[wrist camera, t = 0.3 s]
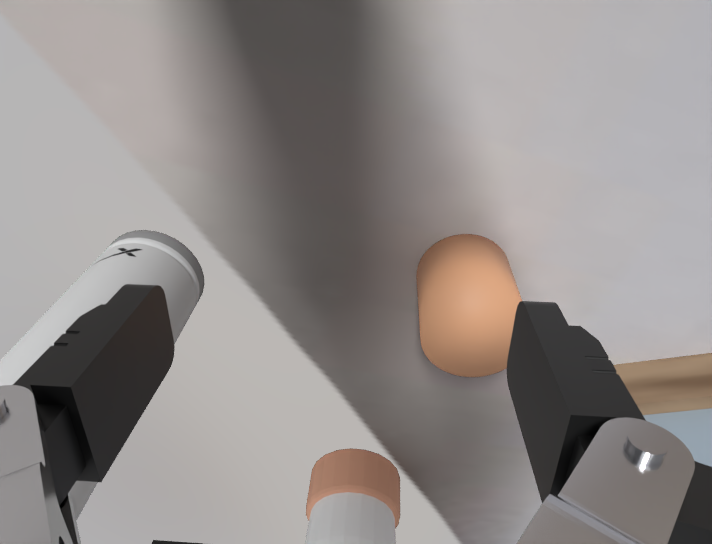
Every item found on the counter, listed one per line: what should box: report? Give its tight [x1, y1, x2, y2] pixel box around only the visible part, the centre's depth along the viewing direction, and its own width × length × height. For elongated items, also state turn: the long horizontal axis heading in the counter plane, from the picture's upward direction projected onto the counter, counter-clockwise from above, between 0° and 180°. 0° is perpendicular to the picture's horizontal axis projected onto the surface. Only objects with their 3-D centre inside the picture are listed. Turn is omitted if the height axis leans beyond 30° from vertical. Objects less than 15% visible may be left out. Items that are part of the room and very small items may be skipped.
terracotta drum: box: [417, 234, 522, 377], centre depth 29 cm, size 6×6×6 cm
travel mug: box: [0, 230, 204, 520], centre depth 25 cm, size 6×7×20 cm
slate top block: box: [643, 408, 712, 467], centre depth 32 cm, size 8×8×4 cm
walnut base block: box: [613, 353, 712, 415], centre depth 36 cm, size 10×10×4 cm
